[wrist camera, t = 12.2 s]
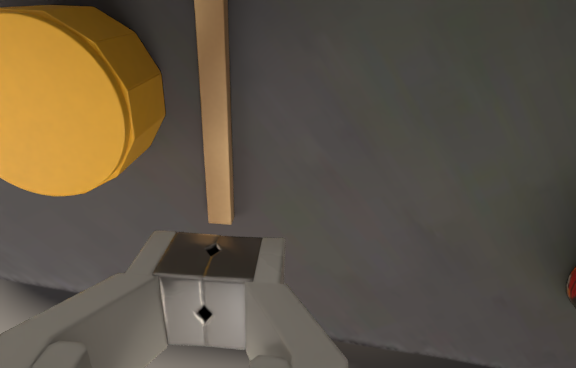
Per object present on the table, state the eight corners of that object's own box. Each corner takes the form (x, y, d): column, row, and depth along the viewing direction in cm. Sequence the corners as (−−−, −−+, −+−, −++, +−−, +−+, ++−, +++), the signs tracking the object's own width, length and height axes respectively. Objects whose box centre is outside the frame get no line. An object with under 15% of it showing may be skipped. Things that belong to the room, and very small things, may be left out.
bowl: (-97, 5, 17) (-9, 2, 21) (-29, 192, 21) (32, 157, 25) (109, 14, 16) (154, 9, 21) (139, 203, 20) (171, 165, 25)
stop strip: (225, -68, 19) (220, -70, 18) (234, 216, 26) (231, 225, 25) (195, -69, 19) (189, -71, 18) (212, 215, 26) (208, 223, 25)
